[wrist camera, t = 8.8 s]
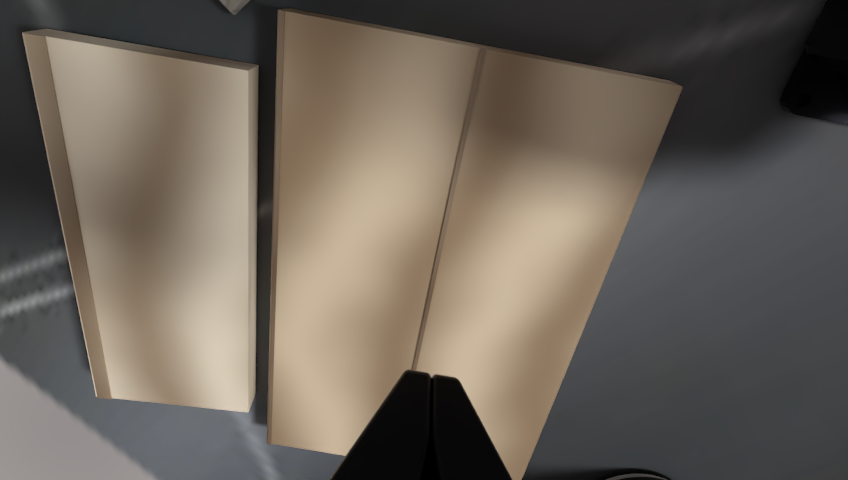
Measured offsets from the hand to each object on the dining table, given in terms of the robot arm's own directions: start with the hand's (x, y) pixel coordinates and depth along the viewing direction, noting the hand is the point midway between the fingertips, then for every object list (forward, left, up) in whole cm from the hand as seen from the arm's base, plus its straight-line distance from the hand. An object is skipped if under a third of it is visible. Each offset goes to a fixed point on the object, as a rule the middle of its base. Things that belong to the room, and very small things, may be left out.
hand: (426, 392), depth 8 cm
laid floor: (-1, +6, -12) cm, 13 cm away
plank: (+10, +6, -12) cm, 17 cm away
